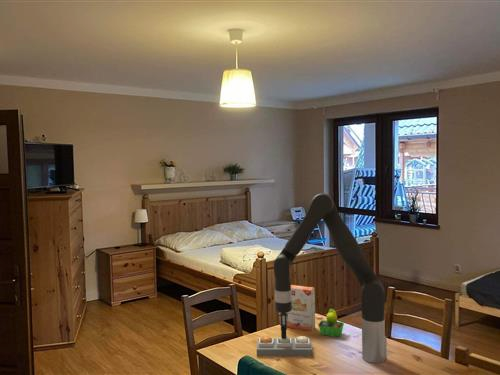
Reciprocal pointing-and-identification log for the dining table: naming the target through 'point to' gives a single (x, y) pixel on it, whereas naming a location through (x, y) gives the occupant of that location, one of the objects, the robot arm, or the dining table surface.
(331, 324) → the fruit basket
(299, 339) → the cream button
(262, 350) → the control panel
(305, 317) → the cracker box
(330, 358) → the dining table surface
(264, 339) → the orange button
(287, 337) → the sage button
